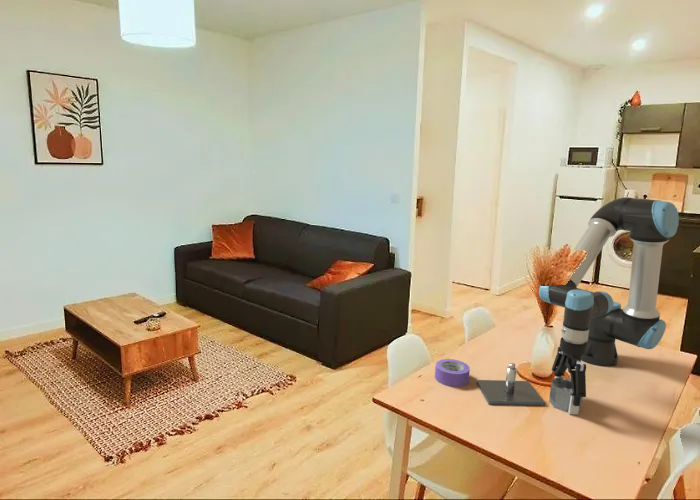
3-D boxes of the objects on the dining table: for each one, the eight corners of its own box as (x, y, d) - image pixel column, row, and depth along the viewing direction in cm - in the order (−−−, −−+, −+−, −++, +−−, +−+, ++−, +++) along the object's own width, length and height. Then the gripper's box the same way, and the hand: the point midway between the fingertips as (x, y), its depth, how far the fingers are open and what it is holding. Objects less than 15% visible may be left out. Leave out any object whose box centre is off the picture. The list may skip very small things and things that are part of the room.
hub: (571, 397, 155) (574, 378, 154) (585, 412, 147) (588, 391, 145) (545, 397, 155) (548, 377, 154) (557, 411, 146) (560, 391, 145)
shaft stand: (527, 384, 163) (531, 355, 161) (544, 405, 150) (548, 374, 147) (476, 383, 163) (479, 354, 161) (488, 404, 149) (491, 373, 147)
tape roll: (457, 369, 173) (458, 357, 172) (475, 384, 162) (476, 371, 161) (428, 373, 169) (429, 360, 168) (445, 389, 159) (446, 375, 158)
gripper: (546, 325, 157) (538, 385, 162) (580, 355, 135) (570, 424, 139) (568, 326, 157) (560, 386, 162) (606, 355, 135) (595, 424, 139)
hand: (564, 404), depth 151 cm, fingers open, 11 cm apart
